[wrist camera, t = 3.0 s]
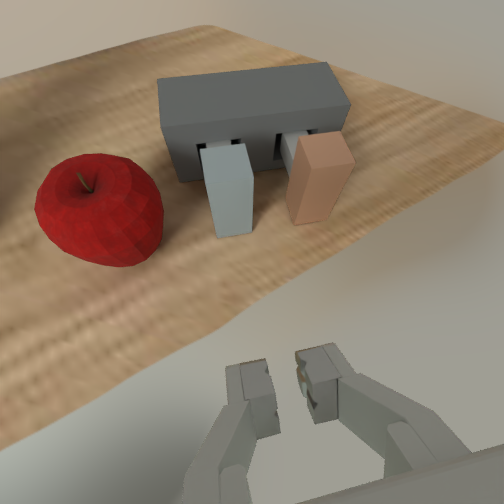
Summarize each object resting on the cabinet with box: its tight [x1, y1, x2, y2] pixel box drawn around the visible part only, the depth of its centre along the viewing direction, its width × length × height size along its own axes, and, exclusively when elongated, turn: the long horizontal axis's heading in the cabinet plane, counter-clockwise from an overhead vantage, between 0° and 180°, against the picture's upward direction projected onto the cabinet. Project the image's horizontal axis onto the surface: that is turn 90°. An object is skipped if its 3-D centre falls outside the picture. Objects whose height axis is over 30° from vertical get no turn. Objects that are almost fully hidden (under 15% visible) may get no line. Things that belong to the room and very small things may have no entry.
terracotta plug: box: [280, 130, 356, 225], centre depth 28 cm, size 4×10×9 cm, turn 11°
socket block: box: [157, 62, 351, 182], centre depth 31 cm, size 20×8×8 cm, turn 102°
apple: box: [34, 153, 164, 267], centre depth 24 cm, size 10×10×11 cm
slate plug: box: [200, 140, 254, 238], centre depth 27 cm, size 4×10×9 cm, turn 12°
